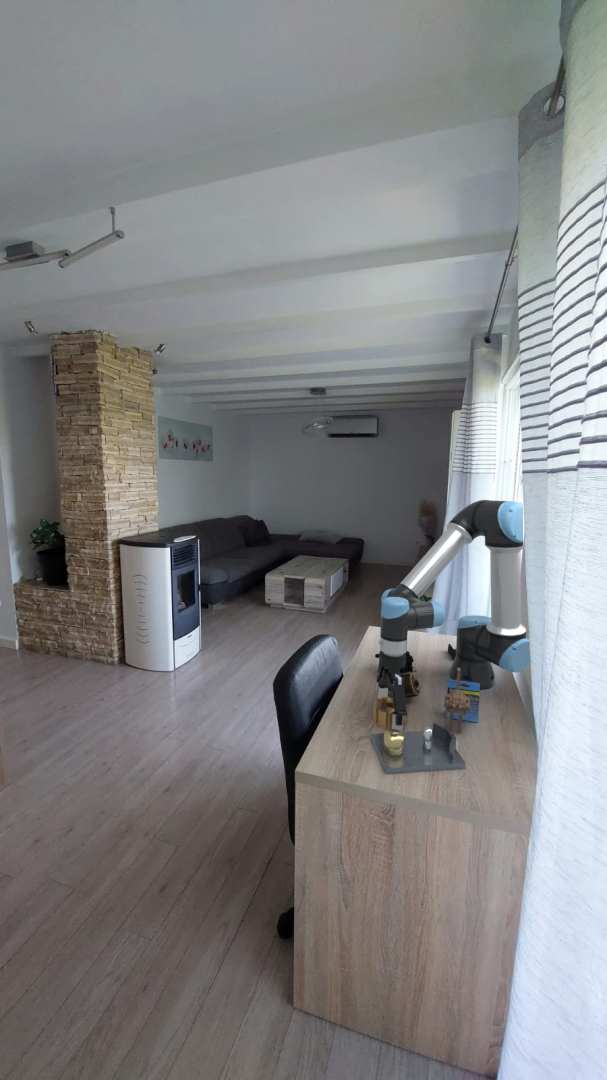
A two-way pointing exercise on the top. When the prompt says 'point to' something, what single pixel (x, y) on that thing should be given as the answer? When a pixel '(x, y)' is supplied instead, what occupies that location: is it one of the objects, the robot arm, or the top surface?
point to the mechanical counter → (410, 685)
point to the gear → (385, 713)
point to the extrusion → (407, 667)
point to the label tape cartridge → (472, 695)
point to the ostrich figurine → (457, 704)
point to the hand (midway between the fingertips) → (389, 720)
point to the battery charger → (451, 651)
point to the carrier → (418, 750)
